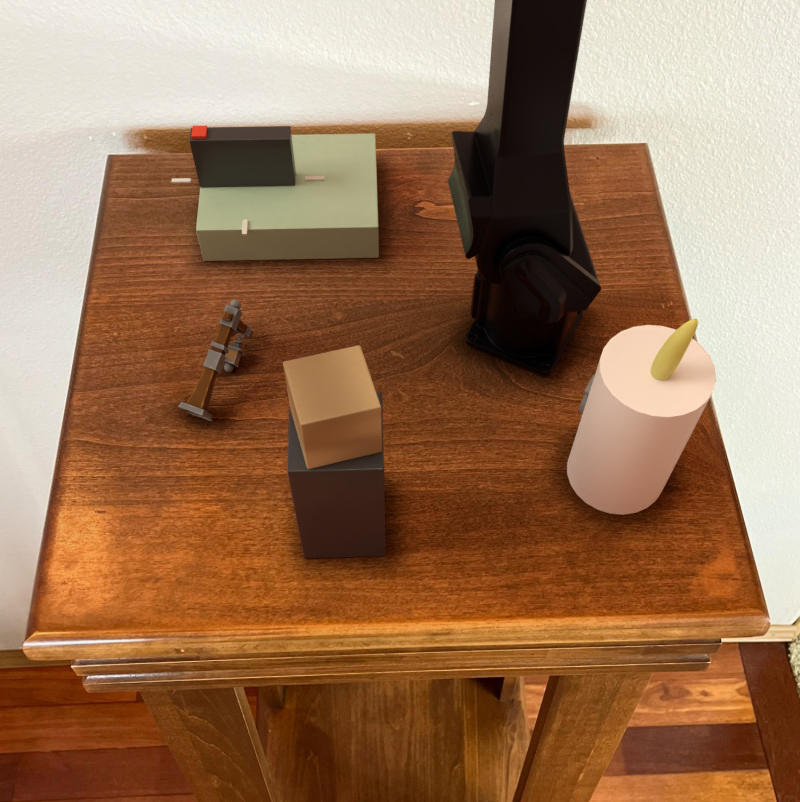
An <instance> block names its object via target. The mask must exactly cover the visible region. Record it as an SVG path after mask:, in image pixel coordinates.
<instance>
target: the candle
mask: <svg viewBox="0 0 800 802" xmlns="http://www.w3.org/2000/svg"><path fill="white" fill-rule="evenodd" d="M698 325H699V319H698V318H692V319H690V320H687V321H686V322H684V323H683V324H682V325H680V326H679V327H678V328H677V329H676V328H672V327H668V326H664V325H655V324H653V325H652V324H645V325H635V326H632V327H629V328H627V329H623V330H621V331H619V332H618V333H617V334H615V335H614V336H613V337H611V338H610V339H609V341H607V343H606V345H604V347H603V349H602V352H601V355H600V357H599V361H598V364H597V367H596V370H595V374H593V375H592V376H591V378H590V380H589V382H588V383H587V385H586V387H585V389H584V390H583V393H582V394H583V397H582V399H581V402H580V404H579V406H578V410H577V412H578V413H579V414H582V415H581V418H580V421H579V424H578V427H577V430H576V433H575V437H574V439H573V443H572V446H571V450H570V453H569V456H568V459H567V462H566V475H567V478H568V481H569V484H570V486H571V488H572V489H573V491H574V493H575V494H576V496H577V497H579V498H580V499H581V500H582V501H583V502H584V503H585V504H587V505H589V506H590V507H592V508H594V509H596V510H598V511H599V512H603V513H607V514H610V515H612V514H613V515H623V516H624V515H629V514H636V513H639V512H641V511H643V510H645V509H648V508H649V507H650V506H651V505H653V504H654V503H655V502H656V501H657V500H658V498H659V497H660V495H661V494H662V492H663V490H664V488H665V487H666V484H667V482H668V480H669V479H670V476H671V474H672V473H673V471H674V469H675V467H676V465H677V464H678V461H679V459H680V458H681V455H682V453H683V451H684V450H685V447H686V445H687V443H688V441H689V440H690V438H691V436H692V434H693V432H694V430H695V428H696V426H697V424H698V422H699V420H700V418H701V417H702V414H703V412H704V410H705V408H706V407H707V405H708V404H709V403H708V402H709V401H710V400H711V397H712V395H713V393H714V390H715V387H716V383H717V373H716V367H715V364H714V362H713V360H712V358H711V356H710V354H709V353H708V352H707V350H706V349H705V347H704V346H702V344H700V342H698V341H697V340H695V338H694V336H695V333H696V331H697V330H698Z"/></svg>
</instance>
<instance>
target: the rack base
mask: <svg viewBox="0 0 800 802" xmlns="http://www.w3.org/2000/svg"><path fill="white" fill-rule="evenodd" d="M291 135H292V144H293V153H294V161H295V170H296V181H295V185H287V186H230V187H200V186H199V197H198V204H197V205H198V206H197V217H196V225H195V226H196V227H195V232H196V236H197V240H198V244H199V248H200V252H201V256H202V260H203V262H223V261H225V262H226V261H227V262H228V261H229V262H231V261H274V260H280V261H281V260H328V259H378V258H379V257H380V250H379V249H380V241H379V240H380V239H379V236H380V235H379V205H378V203H379V202H378V201H379V199H378V176H377V175H378V172H377V171H378V170H377V167H378V166H377V141H376V139H377V138H376V137H377V136H376V133H321V134H320V133H317V134H316V133H315V134H314V133H313V134H291ZM170 183H171V184H191V183H192V178H191V177H185V178H184V177H179V178H178V177H177V178H176V177H175V178H171V181H170Z"/></svg>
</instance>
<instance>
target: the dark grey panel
mask: <svg viewBox="0 0 800 802" xmlns="http://www.w3.org/2000/svg"><path fill="white" fill-rule="evenodd" d="M292 135H293V134H292V128H291V126H290V125H275V126H273V125H272V126H271V125H269V126H266V125H265V126H211V127H210V126H209V127H208V125H192V127H190V131H189V139H188V142H189V146H190V151H191V155H192V159H193V164H194V168H195V173H196V176H197V180H198V184H199V188H200V187H230V186H287V185H295V181H296V170H295V161H294V153H293V144H292Z"/></svg>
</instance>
